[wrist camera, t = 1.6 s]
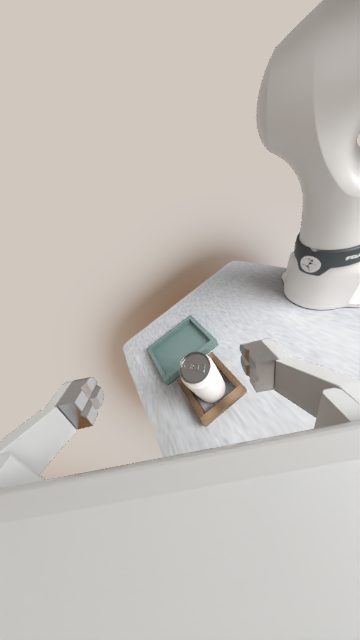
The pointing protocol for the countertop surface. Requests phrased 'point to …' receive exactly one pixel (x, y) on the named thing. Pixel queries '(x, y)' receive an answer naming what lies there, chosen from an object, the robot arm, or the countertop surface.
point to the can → (202, 376)
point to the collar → (220, 406)
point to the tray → (179, 347)
